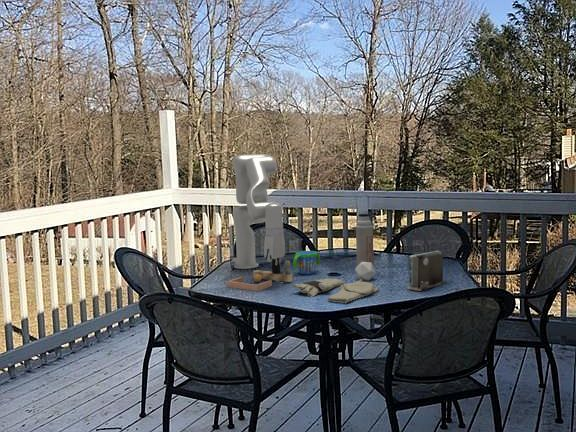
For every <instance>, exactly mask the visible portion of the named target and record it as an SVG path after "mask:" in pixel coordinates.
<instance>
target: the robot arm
mask: <svg viewBox="0 0 576 432" xmlns="http://www.w3.org/2000/svg"><path fill="white" fill-rule="evenodd" d="M232 168H233V171H234V174H235V199H236V202H237V203H238V204H241V205H240V206H239V205H238V206H236V207H235V208H234V209H233V210H232V218H233V224H234V232H235V246H236V247H235V248H236V249H235V251H236V257H233V258H232V259H231V262H232V263H234V265H233V267H234V268H235V269H238V270H247V269H248V270H250V269H255V268H258V267H259V263H258V262H256V241H255V232H254V230H253V228H252V227H251V226H250V225H253V224H263V223H265V237H264V243H263V244H264V247H263V248H264V249H263V257H264V259H267V260H266V261H267V263H270V265H271V272H272V274H280V270H281V262H282V260H283V259H284V257H285V255H286V243H285V237H284V221H283V220H284V219H283V217H284V216H283V205H282V204H281V203H278V202H277V201H268V190H267V189H268V188H269V187H270V185H271V184H270V180H269V176H268V175H273V174H275V173H276V172H277V169H278V164H277V161H276V159H275V158H274V157H273V156H272V155H270V154H268V153H267V154H266V153H257V154H256V153H253V154H251V153H249V154H240V155H235V156H234V157H233V159H232Z"/></svg>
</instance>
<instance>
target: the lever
mask: <svg viewBox="0 0 576 432" xmlns="http://www.w3.org/2000/svg"><path fill="white" fill-rule="evenodd" d="M256 274H260V275H261V277H262V279H263V280H267V281H269V280H272V281H276V280H277V281H285V282H287V283H290V282H292V281H293V279H294V278H293V273H292V272H291V260H285V261H284V269H280V274H272V271H267V270H258V269H256V270H253V271H252V278H253V279H254V276H255V275H256ZM262 279H261V280H262Z"/></svg>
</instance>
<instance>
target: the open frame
mask: <svg viewBox="0 0 576 432" xmlns="http://www.w3.org/2000/svg"><path fill="white" fill-rule="evenodd" d="M226 287H227V288H229V289H230V288H232V289H238V290H239V289H240V290H247V291H253V292H259V291H262V290H265V289H267V288H270V287H273V280H266V281H263V282H261V283H258V284H256V283H254V284H253V283H247V282H244V276H239V277H237V278H233V279H231V280H227V281H226Z"/></svg>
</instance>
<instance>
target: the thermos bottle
mask: <svg viewBox="0 0 576 432" xmlns="http://www.w3.org/2000/svg"><path fill="white" fill-rule="evenodd" d="M372 224H373V223H372V220H370V214H369V213H359V214H358V220H357V221H356V226H355V246H356V248H355V250H356V254H355V255H356V267H357V266H358V265H359V264H360V263H361V262H370V263H372V265H373V267H374V268H375V262H374V261H375V260H374V259H375V257H374V254H375V253H374V225H372Z"/></svg>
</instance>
